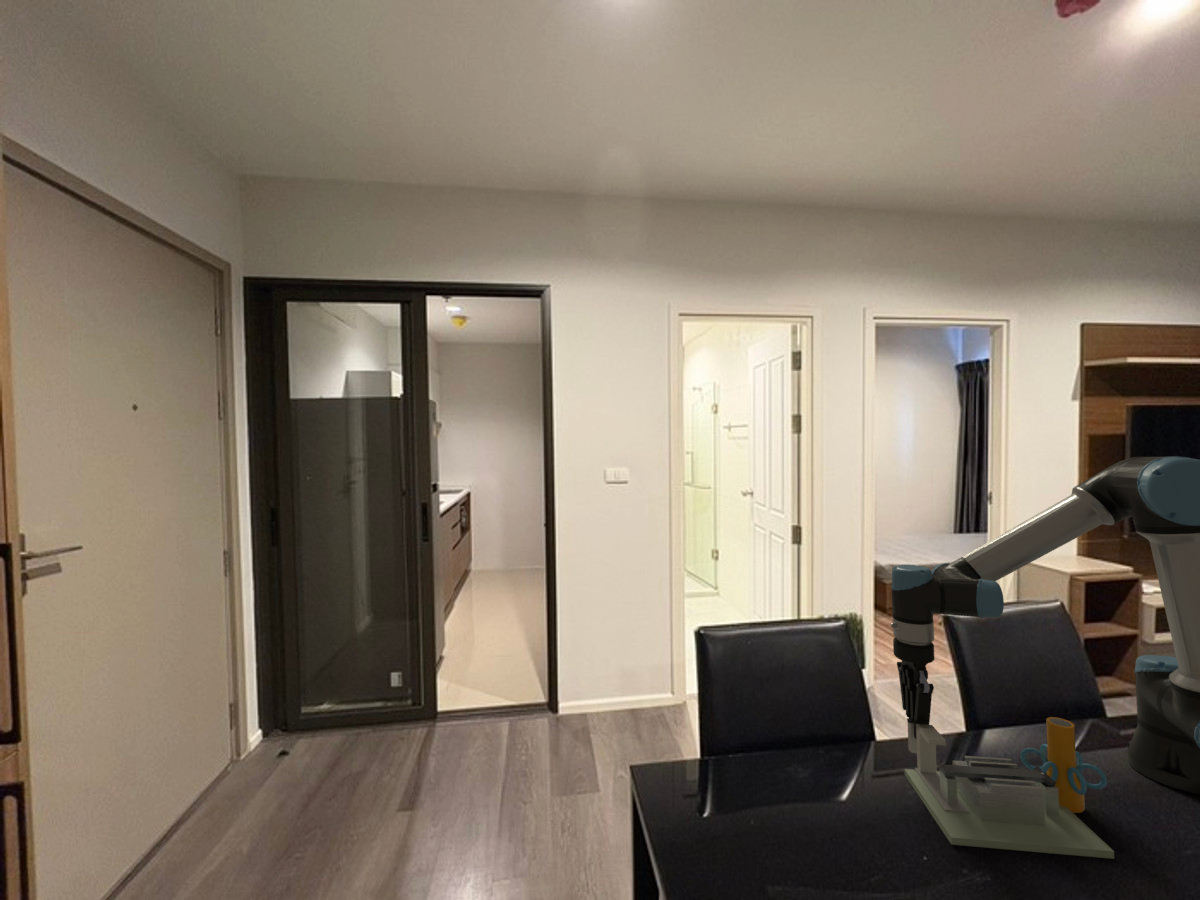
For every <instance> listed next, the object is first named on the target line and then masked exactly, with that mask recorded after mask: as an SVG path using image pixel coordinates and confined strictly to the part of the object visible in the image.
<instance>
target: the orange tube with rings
mask: <svg viewBox="0 0 1200 900" xmlns="http://www.w3.org/2000/svg"><path fill="white" fill-rule="evenodd" d="M1045 720H1046V722H1045V723H1046V742H1047V743H1043V744H1041V745H1040V748H1039V749H1038V748H1033V747H1026V748H1023V749H1022V750H1021V751H1020V755H1019V756H1020V760H1021V762H1022V764H1023V765H1024V766H1025V767H1027V769H1028V770H1034V768H1035V767H1036V766H1034V765H1031V764H1030V763H1029V762H1028V760H1027V758H1026V756H1027V755H1028V754H1029V753H1032V754H1037V755H1038V756H1039V757H1041V760H1042V761H1043V762H1042V763H1043V764H1042V765H1041V766H1038V767H1039V768H1040V769H1041V771H1043V772H1045V773H1046V774H1047V775H1048V776H1049V777H1050V778H1052V779H1053V780H1054V781H1055V783H1056V784H1055V786H1056V787H1057V788H1058V795H1059V805H1060V806H1063V807H1067V808H1068V809H1069V810H1070V811H1071V812H1072V813H1073V814H1081V813H1084V811H1085V809H1086V808H1085V807H1086V806H1085V801H1086V800H1085V794H1086V793H1087V790H1088V789H1093V790H1101V789H1104V788H1105V787H1106V786H1107V785H1108V779H1107V776H1106V775H1105V773H1104V772H1103V770H1102V769H1101V768H1099V767H1098V766H1096V765H1093V764H1090V763H1084V758H1083V755H1082V754H1081V753H1080V752H1078V751H1076V729H1075V728H1076V727H1075V726H1076V725H1075V724H1074V723H1073V722H1071V721H1070V720H1067V719H1065V718H1061V717H1054V716H1049V717H1047V718H1046V719H1045ZM1046 751H1047V756H1046ZM1085 769H1089V770H1092V771H1095V772H1096V773H1097V774H1098V776H1100V782H1099V783H1096V784H1094V783H1090V782H1088V781H1087V780H1085V777H1084V775H1083V773H1082V771H1083V770H1085Z"/></svg>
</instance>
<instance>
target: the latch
mask: <svg viewBox="0 0 1200 900" xmlns="http://www.w3.org/2000/svg"><path fill="white" fill-rule="evenodd" d="M916 736H917V753H916V760H917V761H916V762H917V764H916V765H917V766H916V768H918V769H919V771H920V772H926V773H937V771H938V769H937V768H938V767H937V746H945V747H946V746H947V740H946V739H945V737H943V735H942V734H941V733H940V732H939V731H938V730H937V728H936V727H934V726H933V724H929V725H923V724H916Z"/></svg>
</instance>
